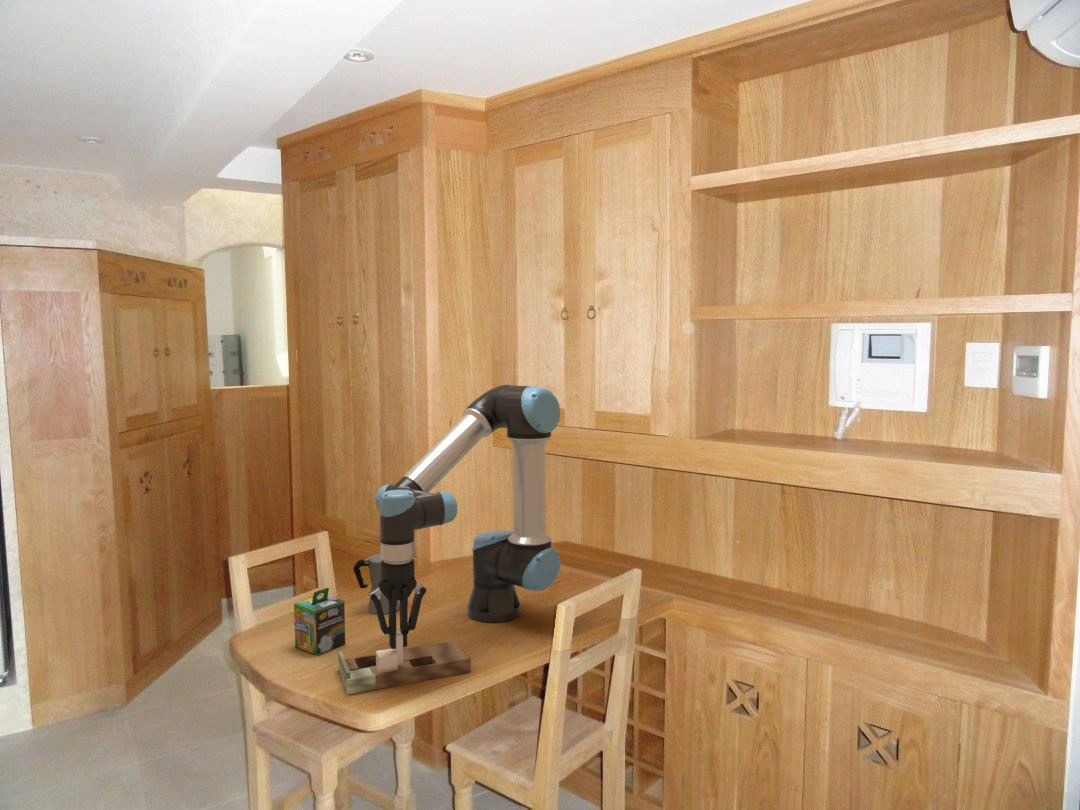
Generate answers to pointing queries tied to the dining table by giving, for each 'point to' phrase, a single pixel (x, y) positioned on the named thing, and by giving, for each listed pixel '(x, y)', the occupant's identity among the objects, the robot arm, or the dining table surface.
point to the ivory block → (386, 660)
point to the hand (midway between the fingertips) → (398, 661)
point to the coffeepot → (373, 581)
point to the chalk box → (319, 623)
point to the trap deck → (403, 667)
